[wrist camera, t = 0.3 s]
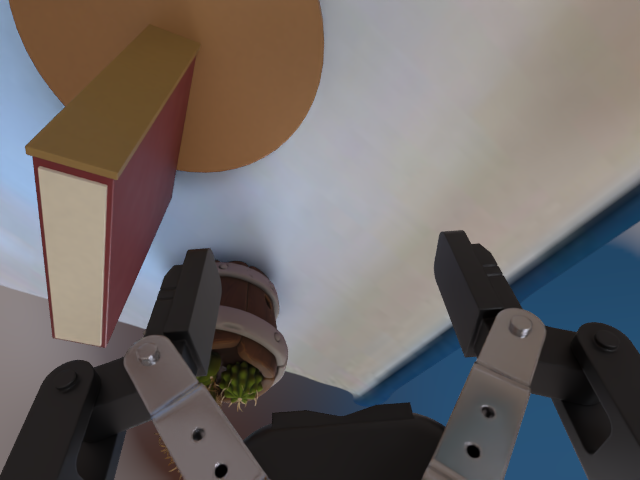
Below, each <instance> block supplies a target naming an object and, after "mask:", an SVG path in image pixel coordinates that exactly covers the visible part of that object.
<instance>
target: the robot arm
mask: <svg viewBox="0 0 640 480" xmlns="http://www.w3.org/2000/svg"><path fill="white" fill-rule="evenodd" d="M434 274H435V279H436V282H437V285H438V287H439V290H440V293H441V295H442V298H443V301H444V303H445V306H446V309H447V311H448V314H449V316H450V319H451V322H452V324H453V327H454V330H455V332H456V335H457V338H458V340H459V343H460V345H461V348H462V351H463V353H464V356H465V357H477V361H476V362H475V363H474V365H473V367H472V369H471V371H470V374H469V376H468V378H467V380H466V383H465V385H464V387H463V389H462V391H461V394H460V396H459V398H458V400H457V403H456V405H455V407H454V409H453V412H452V414H451V416H450V418H449V421H448V423H447V425H446V427H445V426H443V425H442V424H440V423H439V422H437V421H435V420H433V419H431V418H428V417H426V416H423V415H420V414H416V413H412V409H411V405H410V403H396V404H383V405H375V406H372V407H369V408H366V409H363V410H360V411H357V412H355V413H352V414H349V415H346V416H335V415H329V414H324V413H318V412H312V411H307V410H304V411H291V412H279V413H272V424H269V425H266V426H264V427H262V428H260V429H258V430H257V431H255V432H253V433H252V434H251V435H249V436H248V437H247V438H246V439H244V440H242V439H241V437H240V436H239V435H238V433H237V432H236V430H235V429H234V427H233V426H232V425H231V423H230V422H229V420H228V419H227V418H226V416H225V414H224V413H223V412H222V410H221V409H220V407H219V406H218V404H217V403H216V401H215V400H214V399H213V397H212V396H211V394H210V393H209V391H208V390H207V389H206V387H205V386H204V385H203V383H202V382H201V383H200V382H199V381H198V380H197V378H196V377H199V376H207V372H208V367H209V361H210V356H211V350H212V345H213V339H214V333H215V328H216V322H217V317H218V311H219V306H220V300H221V293H222V287H221V279H220V276H219V272H218V269H217V266H216V262H215V259H214V255H213V252H212V250H211V249H210V248H205V249H191V250H188V251H187V253H186V257H185V260H184V263H183V265H174V266H173V267H172V268H171V269H170V271H169V272H168V273H167V274H166V275H165V276H164V279H163V282H162V285H161V288H160V289H161V290H160V291H159V294H158V297H157V301H156V302H155V305H154V308H153V311H152V314H151V317H150V320H149V323H148V326H147V329H146V332H145V335H144V337H143V338H142V339H140V340H138V341H137V342H135V343H134V344H133V345H132V346H131V347H130V348H129V349H128V351H127V352H126V354H125V356H124V357H122V358H120V359H117V360H114V361H112V362H109V363H106V364H103V365H100V366H97V367H94V368H93V366H92V365H91V364H90V363H89V362H87V361H84V360H74V361H70V362H67V363H65V364H62V365H61V366H59V367H57V368H56V369H54V370H53V371H52V372H51V373H50V374H49V375H48V376H47V377H46V378H45V380H44V381H43V383H42V385H41V387H40V389H39V391H38V394H37V396H36V398H35V400H34V403H33V405H32V407H31V409H30V411H29V413H28V415H27V418H26V420H25V422H24V424H23V426H22V429H21V431H20V433H19V435H18V437H17V440H16V442H15V444H14V446H13V448H12V451H11V453H10V455H9V457H8V459H7V462H6V464H5V466H4V468H3V470H2V473H1V475H0V480H114V478H115V474H116V470H117V466H118V462H119V457H120V454H121V450H122V446H123V442H124V438H125V434H126V430H128V429H130V428H133V427H135V426H138V425H140V424H143V423H145V422H148V421H150V420H152V421H153V423H154V425H155V427H156V429H157V430H158V432H159V434H160V436H161V438H162V440H163V442H164V444H165V445H166V447H167V449H168V451H169V453H170V455H171V457H172V458H173V460H174V462H175V464H176V466H177V468H178V470H179V471H180V473H181V475H182V477H183V479H184V480H504V477H505V474H506V470H507V467H508V464H509V461H510V457H511V454H512V451H513V448H514V444H515V441H516V438H517V435H518V432H519V429H520V425H521V422H522V419H523V415H524V412H525V409H526V406H527V403H528V400H529V396H530V393H532V394H537V395H541V396H546V397H550V398H551V399H552V401H553V403H554V405H555V407H556V410H557V412H558V414H559V416H560V418H561V421H562V423H563V425H564V427H565V430H566V432H567V434H568V436H569V438H570V440H571V443H572V445H573V447H574V449H575V451H576V454H577V456H578V458H579V460H580V462H581V464H582V467H583V469H584V471H585V473H586V476H587V478H588V480H640V354H639V353H638V351H637V350H636V348H635V347H634V345H633V344H632V342H631V341H630V340H629V339H628V337H627V336H625V335H624V334H623V333H622V332H620V331H619V330H617V329H615V328H614V327H612V326H609V325H606V324H603V323H596V322H592V323H586V324H584V325H582V326H581V327H580V328H579V329H578V331H577V332H572V331H567V330H562V329H557V328H552V327H548V326H545V325H544V324H543V322H542V321H541V320H540V319H539V318H538V317H536V316H535V315H534V314H532V313H531V312H528V311H526V310H523V309H522V307H521V305H520V304H519V302H518V300H517V298H516V296H515V295H514V293H513V291H512V289H511V288H510V286H509V284H508V282H507V281H506V279H505V277H504V276H503V275H502V272H501V270H500V268H499V266H497V263H496V261H495V259H494V258H493V256H492V254H491V253H490V252H489V251H488V250H487V249H485V248H484V247H483V246H482V245H481V244H471V243H470V241H469V239H468V237H467V235H466V233H465V232H464V231H463V230H459V231H445V232H441V233H440V235H439V239H438V245H437V251H436V256H435V262H434Z"/></svg>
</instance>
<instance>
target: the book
mask: <svg viewBox="0 0 640 480" xmlns="http://www.w3.org/2000/svg"><path fill="white" fill-rule="evenodd" d="M9 4H10V8H11V11H12V15H13V18H14V21H15V24H16V28H17V30H18V33H19V35H20V37H21V40H22V42H23V44H24V46H25V49H26V51H27V53H28V54H29V56H30V58H31V60H32V62H33V63H34V65H35V67H36V69H37V70H38V72H39V73H40V75H41V76H42V78H43V79H44V81H45V82H46V83H47V85H48V86H49V88H50V89H51V90H52V91H53V93H54V94H55V95H56V96H57V97H58V99H59V100H60V101H61V102H62V103H63V105H64V106H65V108H64V109H63V110H62V111H61V112H60V113H58V114H57V115H56V116H55V117H54V118H53V119H52V120H51V121H50V122H49V123H48V124H47V125H46V126H45V127H44V128H43V129H42V130H41V131H40V132H39V133H38V134H37V135H36V136H35V137H34V138H33V139H32V140H31V141H30V142H29V143H28V144H27V145H26V146H25V149H26V154H27V155H31V156H33V165H34V174H35V183H36V192H37V201H38V210H39V219H40V228H41V237H42V246H43V255H44V264H45V273H46V282H47V292H48V301H49V310H50V318H51V328H52V337H53V338H55V339H61V340H66V341H71V342H77V343H82V344H87V345H92V346H98V347H103V348H105V347H106V346H107V344H108V341H109V339H110V337H111V335H112V333H113V330H114V328H115V326H116V323H117V321H118V319H119V317H120V314H121V312H122V310H123V308H124V305H125V303H126V301H127V298H128V296H129V294H130V292H131V289H132V287H133V285H134V282H135V280H136V278H137V276H138V273H139V271H140V269H141V266H142V264H143V262H144V260H145V257H146V255H147V253H148V251H149V248H150V246H151V244H152V241H153V239H154V237H155V235H156V232H157V230H158V228H159V225H160V223H161V221H162V219H163V216H164V214H165V212H166V209H167V207H168V205H169V203H170V200H171V198H172V192H173V186H174V181H175V175H176V170H180V171H187V172H205V173H207V172H220V171H226V170H231V169H236V168H239V167H243V166H246V165H249V164H251V163H253V162H256V161H258V160H260V159H262V158H264V157H265V156H267V155H269V154H270V153H272V152H273V151H275V150H276V149H277V148H279V147H280V146H281V145H282V144H283V143H284V142H286V141H287V140H288V139H289V138H290V137H291V135H292V134H293V133H294V132H295V131H296V130H297V129H298V127H299V126H300V124H301V123H302V121H303V120H304V118H305V117H306V115H307V113H308V111H309V109H310V107H311V105H312V103H313V101H314V98H315V95H316V92H317V89H318V86H319V83H320V78H321V72H322V66H323V54H324V32H323V19H322V13H321V7H320V2H319V0H9Z"/></svg>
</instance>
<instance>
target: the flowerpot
mask: <svg viewBox="0 0 640 480" xmlns="http://www.w3.org/2000/svg"><path fill="white" fill-rule="evenodd" d="M215 262H216V266H217V269H218V272H219V276H220V279H221V287H222V293H221V300H220V306H219V311H218V317H217V322H216V328H215V333H214V339H213V345H212V350H211V356H210V361H209V367H208V372H207V376H199V377H196V378H197V380H198V381H199V382H200V383H201V382H202V383H203V385H204V386H205V387H206V389H207V390H208V391H209V393H210V394H211V396H212V397H213V399H214V400H215V401H216V400H217V401H218V400H219V401H220V400H221V402H222V401H223V402H225V403H231V404H232V403H238V406H239V408H240V403H243V404H244V403H245V404H246V403H247V401H250V400H253V399H254V400H255V402H256V399H255V398H258V397H259V396H261V395H262V394H264V393H265V392H266V391H267V390H268V389H270V387H271V386H273V385H274V384H275V383H277V382H278V381H279V380H280V379H281V378H282V376H283V374H284V372H285V369H286V365H287V359H288V348H287V345H286V342H285V339H284V337H283V335H282V334H281V333H280V332H279V331H278V330H277V326H276V319H277V317H278V314H279V301H278V296H277V292H276V289H275V287H274V285H273V284H272V283H271V281H270V280H269V279H268V278H267V276H266V275H265V274H264V273H263V272H262V271H260V270H259V269H257V268H256V267H254V266H250V267H248V265H247V264H246V263H244V262H240V261H232V262H228V263H226V262H220V261H219V260H215ZM145 332H146V329H145V330H144V331H143V334H144V335H145ZM217 401H216V403H217ZM219 401H218V403H219ZM221 402H220V403H221ZM218 403H217V404H218ZM221 404H222V403H221ZM231 404H230V405H231ZM218 405H219V404H218ZM220 409H221V408H220ZM158 435H160V434H158ZM159 439H161V437H160V438H159ZM164 445H165V444H164ZM160 446H161V445H160ZM162 447H164V446H162ZM165 447H166V445H165ZM166 449H167V447H166ZM166 449H165V450H166ZM167 450H168V449H167ZM167 450H166V451H167ZM162 451H163V450H162ZM166 451H165V452H166ZM167 454H168V453H167ZM169 458H170V457H169ZM172 460H173V458H172ZM173 461H174V460H173ZM171 462H172V461H171ZM171 462H170V463H171ZM174 463H175V462H174ZM176 468H177V467H176ZM176 468H174V469H176ZM174 469H173V470H174ZM171 471H172V470H171ZM181 476H182V475H181ZM181 476H180V478H181Z"/></svg>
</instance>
